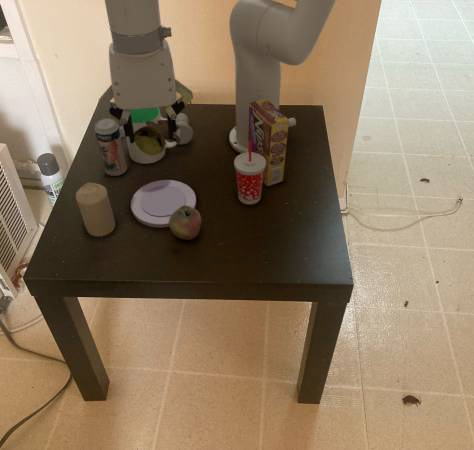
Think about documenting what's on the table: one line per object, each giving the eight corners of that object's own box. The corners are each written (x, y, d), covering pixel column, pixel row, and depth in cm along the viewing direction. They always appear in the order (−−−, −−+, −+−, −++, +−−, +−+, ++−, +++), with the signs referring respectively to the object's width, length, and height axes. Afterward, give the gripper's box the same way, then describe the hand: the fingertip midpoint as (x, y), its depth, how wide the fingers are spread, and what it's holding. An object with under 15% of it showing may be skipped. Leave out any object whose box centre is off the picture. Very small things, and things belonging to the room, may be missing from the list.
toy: (162, 159, 83) (191, 143, 91) (160, 129, 81) (189, 116, 89) (130, 154, 86) (160, 139, 94) (126, 125, 83) (158, 112, 92)
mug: (185, 142, 111) (181, 103, 104) (180, 164, 106) (175, 124, 98) (133, 141, 112) (125, 101, 105) (126, 163, 106) (117, 122, 99)
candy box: (284, 181, 102) (290, 119, 91) (267, 187, 101) (270, 125, 90) (264, 158, 108) (266, 97, 97) (247, 163, 106) (247, 102, 95)
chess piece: (187, 120, 107) (187, 104, 115) (165, 128, 108) (166, 112, 115) (196, 140, 111) (196, 123, 118) (175, 148, 111) (175, 131, 119)
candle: (84, 220, 94) (71, 181, 87) (113, 213, 96) (102, 174, 88) (88, 240, 91) (75, 201, 84) (117, 232, 92) (107, 193, 85)
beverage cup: (254, 211, 96) (256, 154, 86) (228, 199, 98) (227, 143, 88) (270, 193, 99) (273, 137, 89) (244, 183, 102) (244, 127, 92)
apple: (167, 251, 89) (164, 228, 84) (173, 220, 94) (169, 197, 90) (200, 251, 89) (198, 229, 84) (203, 220, 94) (202, 198, 90)
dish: (181, 176, 103) (180, 171, 103) (207, 213, 95) (206, 209, 95) (122, 195, 99) (121, 191, 98) (144, 236, 91) (143, 232, 90)
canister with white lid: (100, 173, 104) (88, 126, 96) (114, 160, 107) (103, 114, 99) (118, 179, 103) (107, 132, 94) (132, 167, 106) (122, 120, 97)
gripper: (191, 23, 77) (198, 120, 89) (80, 31, 75) (102, 129, 87) (197, 44, 71) (202, 144, 84) (76, 53, 69) (101, 154, 82)
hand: (151, 136), depth 86 cm, fingers closed on toy, 6 cm apart
